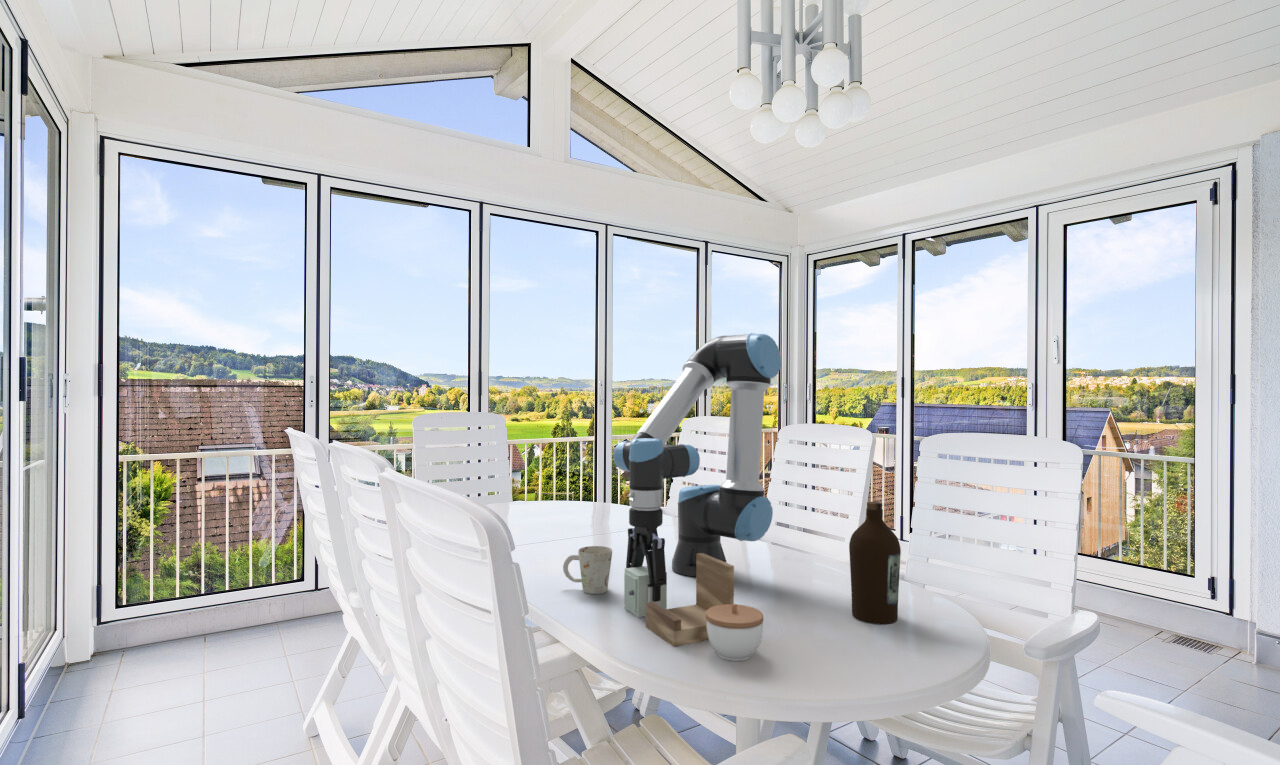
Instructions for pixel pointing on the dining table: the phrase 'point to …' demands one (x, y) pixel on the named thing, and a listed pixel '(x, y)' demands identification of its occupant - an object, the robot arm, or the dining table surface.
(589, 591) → the mug
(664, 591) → the cabinet block
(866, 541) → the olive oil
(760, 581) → the dining table surface
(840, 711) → the dining table surface
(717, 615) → the lidded jar
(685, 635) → the wooden stand
